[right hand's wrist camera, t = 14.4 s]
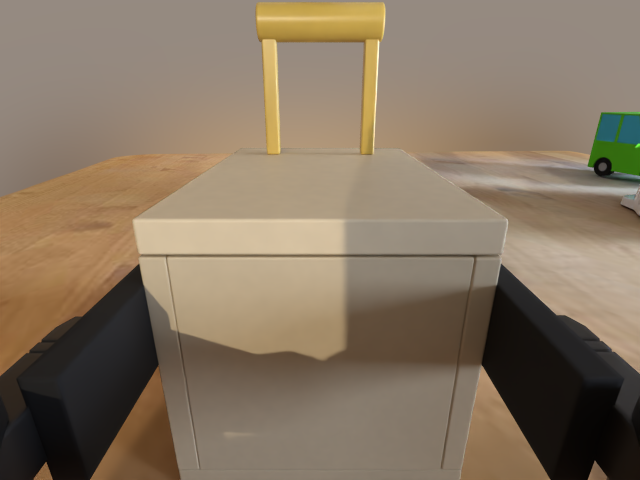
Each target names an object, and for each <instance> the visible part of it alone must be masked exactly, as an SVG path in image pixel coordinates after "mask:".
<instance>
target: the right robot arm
mask: <svg viewBox="0 0 640 480" xmlns="http://www.w3.org/2000/svg"><path fill="white" fill-rule="evenodd" d="M158 365H159V363H158V358H157V353H156V347H155V342H154V337H153V332H152V326H151V321H150V316H149V310H148V305H147V300H146V295H145V289H144V285H143V281H142V275H141V270H140V265H139V264H138V265H137V266H136V267H135V268H134V269H133V270H132V271H131V272H130V273H129V274H128V275H127V276H126V277H124V278H123V279H122V280H121V281H120V282H119V283H118V284H117V285H116V286H115V287H114V288H113V289H112V290H111V291H109V292H108V293H107V294H106V295H105V296H104V297H103V298H102V299H101V300H100V301H99V302H98V303H97V304H96V305H94V306H93V307H92V308H91V309H90V310H89V311H88V312H87V313H86V314H85V315H84V316H83V317H74V318H72V319H70V320H69V321H67V322H65V323H63V324H61V325H59V326H58V327H56V328H55V329H54V330H52V331H51V332H50V333H49V334H48V335H47V336H46V337H44V338H43V339H42V342H41V343H38V344H36V345H35V346H34V347H33V348H32V349H31V350H30V352H29V353H26V354H25V355H24V356H23V357H22V358H21V359H19V360H18V361H17V362H16V363H15V364H14V365H13V366H11V367H10V368H9V369H8V370H7V371H6V372H5V373H4V374H2V375H1V376H0V480H34V479H33V478H34V477H35V476H36V474H37V473H38V472H39V470H40V469H41V468H42V466H43V465H44V464H45V462H47V465H48V467H49V470H50V473H51V476H52V478H53V480H90V479H91V477H92V475H93V474H94V472H95V470H96V468H97V467H98V465H99V463H100V462H101V460H102V458H103V457H104V455H105V453H106V452H107V450H108V448H109V447H110V445H111V443H112V442H113V440H114V438H115V437H116V435H117V433H118V432H119V430H120V428H121V427H122V425H123V423H124V422H125V420H126V418H127V417H128V415H129V413H130V412H131V410H132V408H133V407H134V405H135V403H136V402H137V400H138V398H139V397H140V395H141V393H142V392H143V390H144V388H145V387H146V385H147V383H148V382H149V380H150V378H151V377H152V375H153V373H154V372H155V370H156V368H157V367H158ZM482 366H483V367H484V369H485V371H486V372H487V374H488V376H489V377H490V379H491V381H492V382H493V384H494V386H495V388H496V389H497V391H498V393H499V394H500V396H501V398H502V399H503V401H504V403H505V404H506V406H507V408H508V409H509V411H510V413H511V414H512V416H513V418H514V419H515V421H516V423H517V424H518V426H519V428H520V429H521V431H522V433H523V434H524V436H525V438H526V439H527V441H528V443H529V444H530V446H531V448H532V449H533V451H534V453H535V454H536V456H537V458H538V459H539V461H540V463H541V464H542V466H543V468H544V469H545V471H546V473H547V474H548V476H549V478H550V479H551V480H588V477H589V474H590V472H591V469H592V466H593V464H594V461H596V462H597V464H598V465H599V466H600V468H601V469H602V470H603V472H604V473H605V474H606V476H607V479H606V480H640V374H639V373H638V372H637V371H636V370H635V369H634V368H632V367H631V366H630V365H629V364H628V363H627V362H626V361H624V360H623V359H622V358H621V357H620V356H619V355H618V354H616V353H615V352H612V349H611V348H610V347H608V346H607V345H606V344H605V343H604V342H603V341H600V340H599V338H598V337H597V336H596V335H595V334H593V333H592V332H591V331H590V330H589V329H588V328H587V327H585V326H584V325H582V324H580V323H578V322H576V321H575V320H573V319H571V318H569V317H567V316H565V315H556V314H555V313H554V312H552V311H551V310H550V309H549V308H548V307H547V306H546V305H545V304H544V303H543V302H542V301H541V300H540V299H539V298H537V297H536V296H535V295H534V294H533V293H532V292H531V291H530V290H529V289H528V288H527V287H526V286H525V285H524V284H522V283H521V282H520V281H519V280H518V279H517V278H516V277H515V276H514V275H513V274H512V273H511V272H510V271H509V270H507V269H506V268H505V267H504V266H503V265H502V264H501V266H500V271H499V276H498V281H497V286H496V291H495V297H494V302H493V307H492V312H491V318H490V323H489V328H488V333H487V339H486V344H485V349H484V354H483V360H482Z"/></svg>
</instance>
